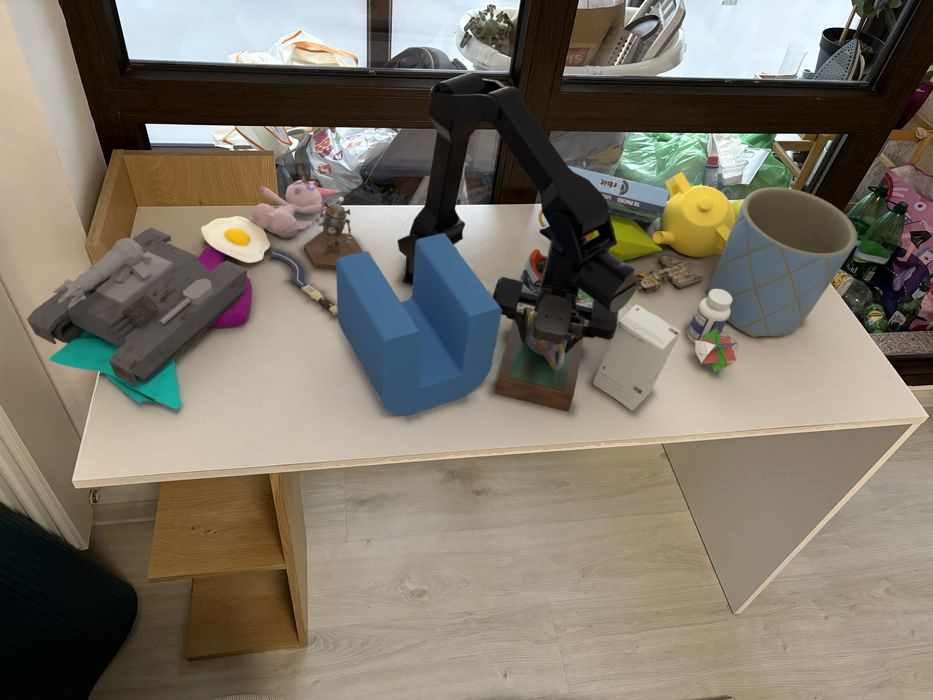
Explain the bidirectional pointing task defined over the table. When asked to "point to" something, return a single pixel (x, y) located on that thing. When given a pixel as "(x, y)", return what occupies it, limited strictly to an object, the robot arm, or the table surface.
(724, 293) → the pill bottle
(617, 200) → the gum box
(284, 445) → the table surface
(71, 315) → the toy
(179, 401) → the cloth
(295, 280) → the decorative blade
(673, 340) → the cosmetic box
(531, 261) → the sneaker
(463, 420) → the table surface
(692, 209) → the teapot
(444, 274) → the block
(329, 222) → the robot figurine
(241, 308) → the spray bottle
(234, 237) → the fried egg
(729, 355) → the geometric puzzle
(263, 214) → the toy
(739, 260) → the planter
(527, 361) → the framed green board
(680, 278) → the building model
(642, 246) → the plumb bob
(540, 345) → the mug
